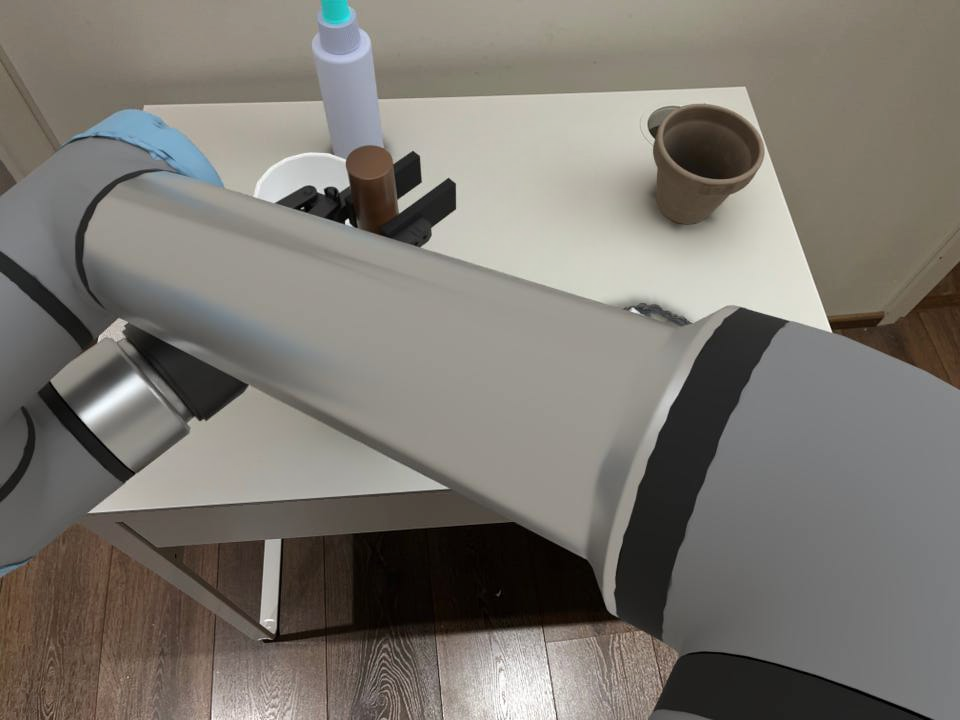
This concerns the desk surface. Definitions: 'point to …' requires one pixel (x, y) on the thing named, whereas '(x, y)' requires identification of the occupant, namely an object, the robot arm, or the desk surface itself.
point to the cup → (302, 176)
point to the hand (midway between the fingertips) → (434, 180)
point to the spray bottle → (346, 79)
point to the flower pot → (703, 160)
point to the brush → (372, 187)
